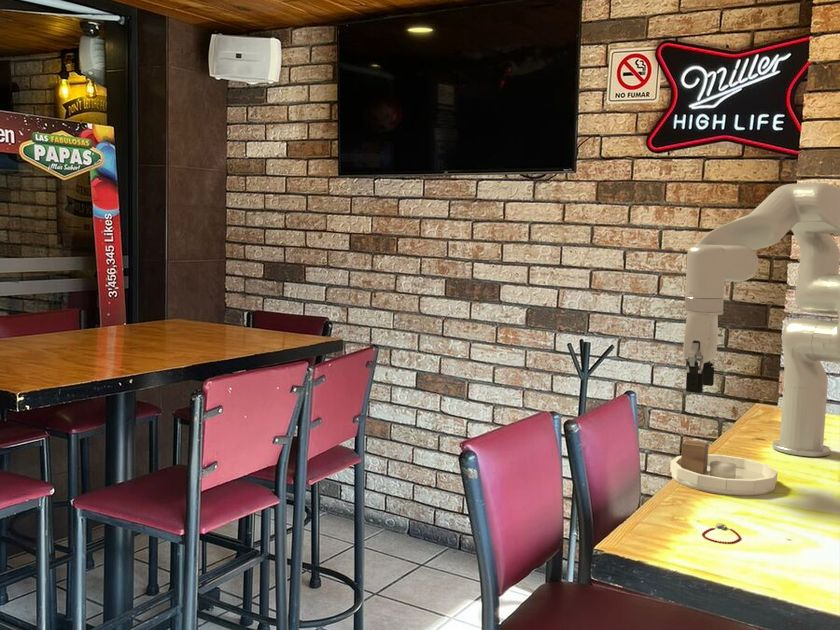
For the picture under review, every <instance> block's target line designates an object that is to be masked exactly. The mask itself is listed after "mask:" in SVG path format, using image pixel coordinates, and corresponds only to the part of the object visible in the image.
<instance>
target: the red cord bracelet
mask: <svg viewBox="0 0 840 630" xmlns="http://www.w3.org/2000/svg"><path fill="white" fill-rule="evenodd" d="M715 526H716V527H710V528H708V529H706V530H704V531H703V532H702V534H701V536H702V537H703V538H704V539H705V540H707V541H710V542H712V543H713V542H714V543H718V544H725V545H731V544H736V543H739V542H740V541H741V540H742V537H741V535H740V534H739V533H738V532H737V531H735V530H734V529H733V528H728V527H727V525H726V524H724V523H720V522H717V523H716V524H715ZM716 528H717V529H721V530H722V531H726V530H729V531H730V532H732V533H734V534H735V535H736V536H737V537H738V538H737V539H735V540H732V541H721V540H720V541H719V540H715V539H712V538H709V537H707V536H706V534H707V533H709V532H710V531H713V530H716Z"/></svg>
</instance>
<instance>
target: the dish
mask: <svg viewBox="0 0 840 630" xmlns="http://www.w3.org/2000/svg"><path fill="white" fill-rule="evenodd" d="M681 457H682V455H677V456H676V457H674V458H673V459H672V460H670V465H669V466H670V467H669V468H670V469H669V472H671V478H672V479H673V480H674V481H675V482H677V483H678V484H680V485H683V486H685V487H687V488H691V489H694V490H698V491H702V492H706V493H710V494H716V495H717V494H719V495H726V496H727V495H729V496H739V495H740V496H743V497H744V496H751V497H753V496H760V495H761V496H762V495H765V494H766V495H767V494H770V493H773V491H775V489H776V484H777V482H778V473H779V472H778V471H777V470H776V469H774V468H772V467H771V466H770V465H768V464H767V463H763V462H759V461H757V460H753V459H749V458H745V457H738V456H732V455H725V454H714V453H713V454H712V453H710V454H709V453H708V463H707V471H706V472H705V473H704V474H703V475H702V474H698V473H695V472H692V471H689V470H686V469H683V468H682V467H681ZM740 496H739V497H740Z"/></svg>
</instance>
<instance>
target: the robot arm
mask: <svg viewBox="0 0 840 630" xmlns="http://www.w3.org/2000/svg"><path fill="white" fill-rule="evenodd" d="M790 230H791V232H792V233H793V235H794V237H795V239H796V241H797V243H798V247H799V251H800V257H799V266H798V274H797V280H796V288H795V295H794V296H795V298H794V300H795V305H796V307H797V308H798V309H799V310H801V311H803V312H805V313H811V314H819V315H828V316H830V315H831V316H838V321H837V320H836V321H835V320H827V319H817V318H806V317H804V318H803V317H802V318H801V317H800V318H796V319H793V320H791V321H789V322H787V324H786V325H784V326H783V327H784V328H782V329H783V330H782V334H781V341H782V342H781V343H782V345H781V346H782V350H783V351H782V352H783V358H784V359H783V361H784V362H783V363H784V371H783V373H784V374H783V387H782V391H783V392H782V403H781V416H780V417H781V418H780V431H779V432H780V433H779V439H777V440H775V441H772V448H773V450H775V451H778V452H780V453H781V452H782V453H784V454H788V455H793V456H802V457H813V458H815V457H817V458H819V457H826V456H829V455H830V454H831V449H830V447H829V446H827V445H825V444H824V441H825V440H824V438H825V427H826V426H825V425H826V414H827V413H826V412H827V411H826V410H827V401H828V400H827V398H828V397H827V395H828V388H829V387H828V386H829V379H828V375H827V372H826V370H825V368H824V365H823V364H822V362H826V363H834V364H835V363H836V364H840V273H839V272H840V271H839V270H840V248H839V246H838V244H837V243H836V241H835V240H834V238H833V236H832V235H840V187H838V186H836V185H833V184H829V183H825V182H806V183H805V182H804V183H802V182H801V183H787V184H783V185H780V186H779V187H777V188H775V190H773V192H771V193H770V194H769V195H768V196H767V197H766V198H765V199H764V200H762V202H761V203H759V205H758V206H756V208H754V209H753V210H752V211H751V212H750V213H749V214H747V215H744V216H742V217H739V218H737V219H734V220H731V221H730V222H728V223H725V224H723V225H720V226H718V227H715V229H713V230H711V231H709V232H708V233H707V234H705V235H704V236H703V237H702V238H701V239H700V240H699V241H698V242H697V243H695V245H694V246H691V247H690V248H689V249H688V250H687V254H686V269H685V270H686V272H685V293H684V296H685V297H684V313H685V314H687V315H686V321H685V327H684V328H685V329H684V337H683V338H684V339H683V346H682V347H683V349H682V350H683V351H682V360H683V361H684V362H687V367H686V376H685V377H686V381H685V391H686V393H687V392H688V393H695V394H702V393H703V391H704V390H703V388H704V386H707V387H708V386H709V387H712V386H713V385H714V380H715V358H716V356H717V350H718V338H719V337H718V334H719V333H718V330H719V329H718V327H719V320H718V319H719V318H718V317H719V316H721V315H724V303H725V302H724V299H725V297H724V296H725V295H724V294H725V282H736V283H737V282H746V281H747V280H750V279H751V278H752V277H754V276H755V274H756V273H757V271H758V269H759V264H760V263H759V257H758V255H757V253H756V252H755V251H757V250H761V249H764V248H769V247H771V246H774V245H775V244H777V243H779V242H780V241H781V239H782V238H784V236H785V235H786V234H787V233H788V232H789V231H790Z"/></svg>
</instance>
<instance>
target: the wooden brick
mask: <svg viewBox="0 0 840 630" xmlns="http://www.w3.org/2000/svg"><path fill="white" fill-rule="evenodd" d="M681 444H682V445H681V456H682V457H681V467H682V468H683V469H686V470H689V471H692V472H695V473H698V474H702V475H703V474H704V473H705V472H706V471H707V463H708V454H709V444H710V443H709V442H706V441H700V440H694V439H693V440H692V439H686V440H685V441H683V442H682V443H681Z"/></svg>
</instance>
